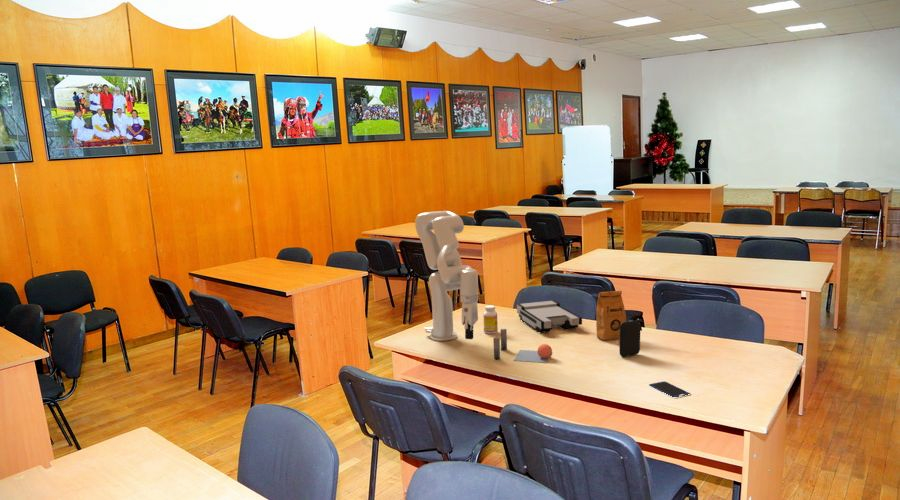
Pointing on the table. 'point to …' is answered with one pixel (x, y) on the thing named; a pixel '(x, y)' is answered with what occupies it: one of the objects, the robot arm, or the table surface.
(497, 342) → the post
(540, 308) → the game console
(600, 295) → the coffee package
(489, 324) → the supplement bottle
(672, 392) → the cell phone
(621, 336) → the carrying case or bag
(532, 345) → the table surface
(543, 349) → the ball
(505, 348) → the post
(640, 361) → the table surface
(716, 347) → the table surface
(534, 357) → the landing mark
